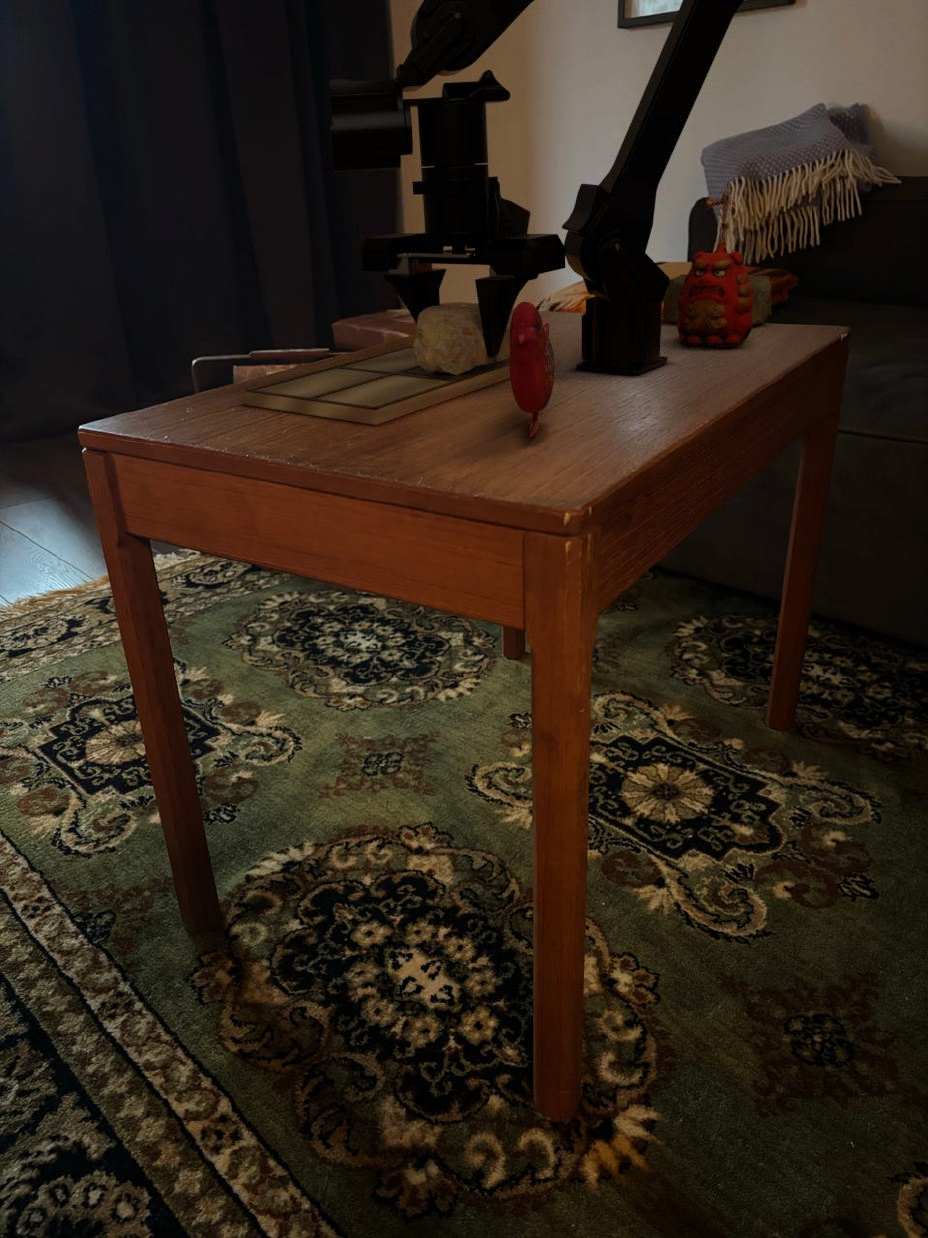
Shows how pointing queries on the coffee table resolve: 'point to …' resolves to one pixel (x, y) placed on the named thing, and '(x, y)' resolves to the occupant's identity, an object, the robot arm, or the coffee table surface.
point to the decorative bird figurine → (530, 362)
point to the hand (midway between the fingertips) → (464, 353)
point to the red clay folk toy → (716, 295)
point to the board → (373, 388)
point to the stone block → (759, 293)
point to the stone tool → (453, 340)
